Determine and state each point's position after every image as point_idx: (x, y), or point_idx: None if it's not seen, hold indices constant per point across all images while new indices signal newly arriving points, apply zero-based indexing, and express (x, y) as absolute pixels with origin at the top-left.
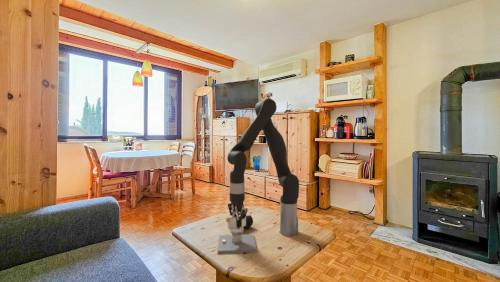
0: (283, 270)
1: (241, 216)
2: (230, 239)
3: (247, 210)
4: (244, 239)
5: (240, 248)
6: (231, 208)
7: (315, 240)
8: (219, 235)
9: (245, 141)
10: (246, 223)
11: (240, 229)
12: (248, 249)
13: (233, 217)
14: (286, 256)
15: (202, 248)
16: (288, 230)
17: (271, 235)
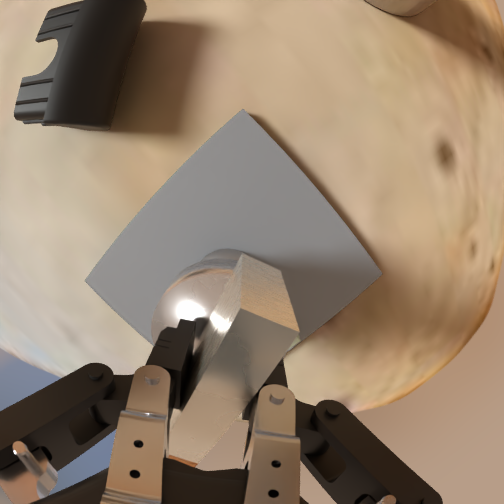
0: (486, 301)
1: (338, 474)
2: (170, 280)
3: (437, 495)
4: (246, 220)
5: (301, 323)
6: (59, 452)
7: (489, 29)
8: (86, 282)
9: None
10: (120, 58)
11: (284, 354)
12: (345, 303)
13: (184, 433)
14: (483, 213)
15: None
16: (426, 4)
17: (335, 37)
